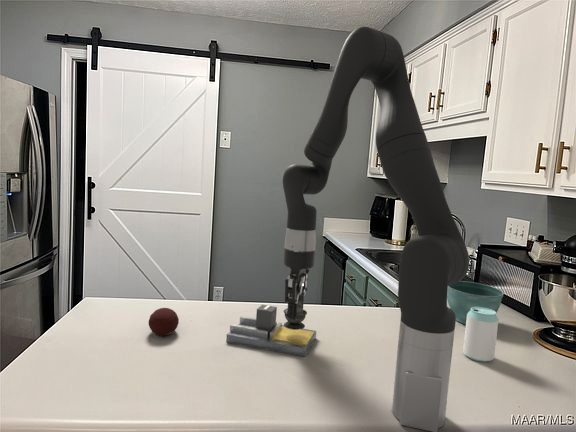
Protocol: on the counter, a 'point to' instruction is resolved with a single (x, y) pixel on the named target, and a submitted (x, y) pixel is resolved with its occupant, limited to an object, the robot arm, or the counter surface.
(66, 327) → the counter surface
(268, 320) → the block
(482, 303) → the teal bowl
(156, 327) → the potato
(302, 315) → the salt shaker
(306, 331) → the board
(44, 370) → the counter surface
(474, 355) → the can
